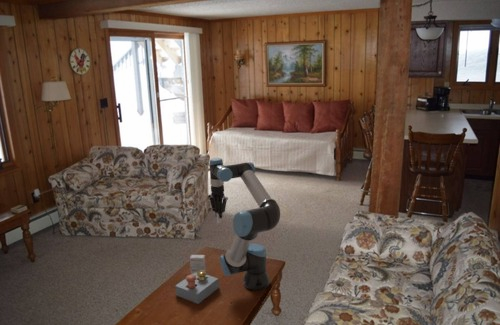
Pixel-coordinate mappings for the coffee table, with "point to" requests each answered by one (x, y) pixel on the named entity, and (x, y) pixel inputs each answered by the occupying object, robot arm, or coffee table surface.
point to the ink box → (197, 263)
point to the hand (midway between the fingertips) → (219, 222)
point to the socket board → (197, 288)
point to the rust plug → (191, 281)
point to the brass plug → (202, 275)
